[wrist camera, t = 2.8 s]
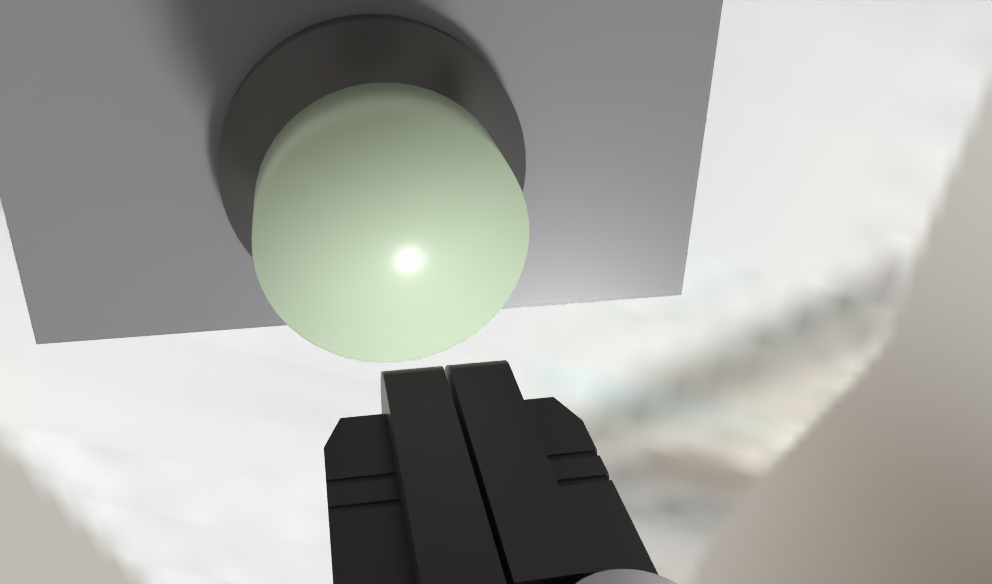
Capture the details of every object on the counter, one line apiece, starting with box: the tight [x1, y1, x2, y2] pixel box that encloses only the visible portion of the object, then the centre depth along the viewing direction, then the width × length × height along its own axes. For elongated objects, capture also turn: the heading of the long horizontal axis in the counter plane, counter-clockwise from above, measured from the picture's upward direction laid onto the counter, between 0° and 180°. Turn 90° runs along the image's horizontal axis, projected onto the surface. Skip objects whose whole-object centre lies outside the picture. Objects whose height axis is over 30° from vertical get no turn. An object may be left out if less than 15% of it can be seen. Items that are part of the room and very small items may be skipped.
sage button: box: [252, 82, 529, 363], centre depth 16 cm, size 5×5×2 cm
